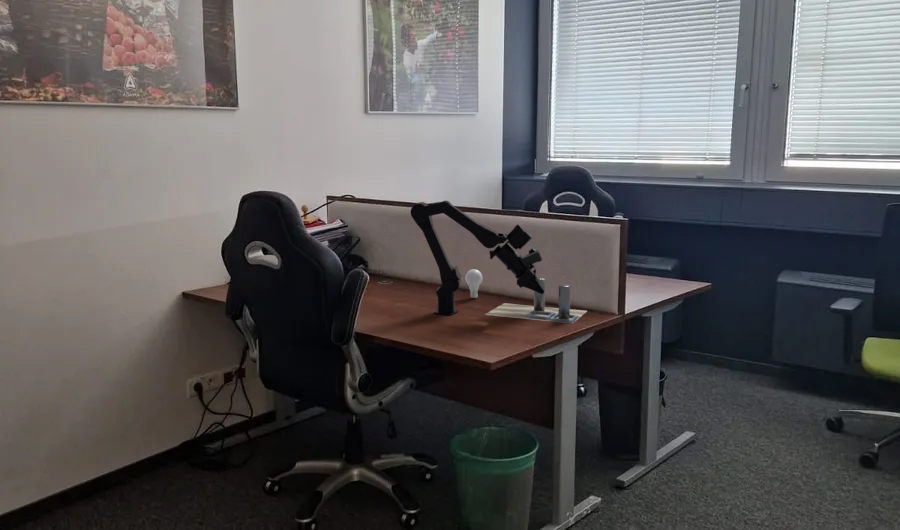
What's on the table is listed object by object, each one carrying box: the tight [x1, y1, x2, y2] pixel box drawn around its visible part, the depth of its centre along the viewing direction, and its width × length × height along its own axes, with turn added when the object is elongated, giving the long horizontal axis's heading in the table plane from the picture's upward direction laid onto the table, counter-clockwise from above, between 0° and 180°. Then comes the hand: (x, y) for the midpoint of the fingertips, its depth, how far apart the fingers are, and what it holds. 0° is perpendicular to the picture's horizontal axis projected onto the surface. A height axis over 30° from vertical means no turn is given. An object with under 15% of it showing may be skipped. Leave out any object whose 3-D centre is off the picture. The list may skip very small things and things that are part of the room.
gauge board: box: [484, 302, 588, 324], centre depth 251 cm, size 18×30×2 cm, turn 65°
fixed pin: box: [558, 284, 571, 320], centre depth 241 cm, size 4×4×11 cm
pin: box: [533, 277, 546, 311], centre depth 252 cm, size 4×4×11 cm
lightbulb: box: [464, 268, 483, 299], centre depth 278 cm, size 6×6×11 cm
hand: (543, 291), depth 252 cm, fingers closed on pin, 4 cm apart
